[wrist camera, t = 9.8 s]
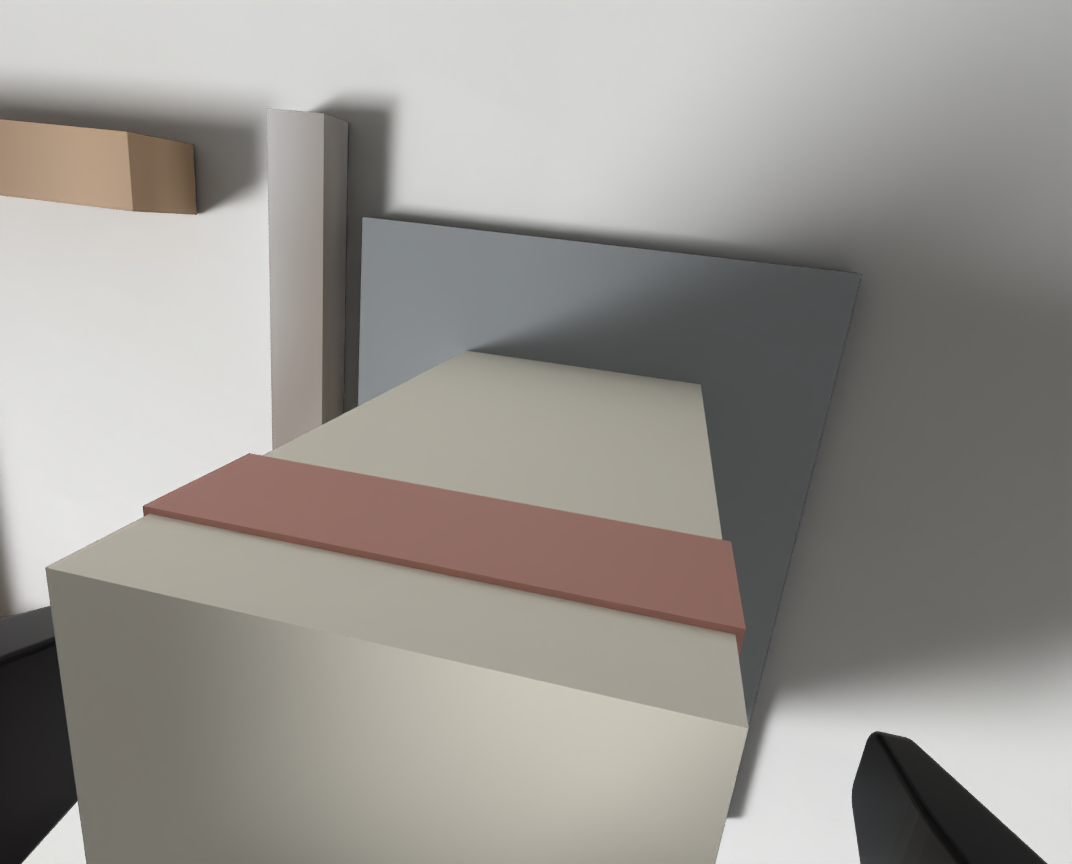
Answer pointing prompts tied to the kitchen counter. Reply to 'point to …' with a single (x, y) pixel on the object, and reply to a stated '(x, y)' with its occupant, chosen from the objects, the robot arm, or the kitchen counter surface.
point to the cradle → (169, 187)
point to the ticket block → (420, 638)
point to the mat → (635, 356)
